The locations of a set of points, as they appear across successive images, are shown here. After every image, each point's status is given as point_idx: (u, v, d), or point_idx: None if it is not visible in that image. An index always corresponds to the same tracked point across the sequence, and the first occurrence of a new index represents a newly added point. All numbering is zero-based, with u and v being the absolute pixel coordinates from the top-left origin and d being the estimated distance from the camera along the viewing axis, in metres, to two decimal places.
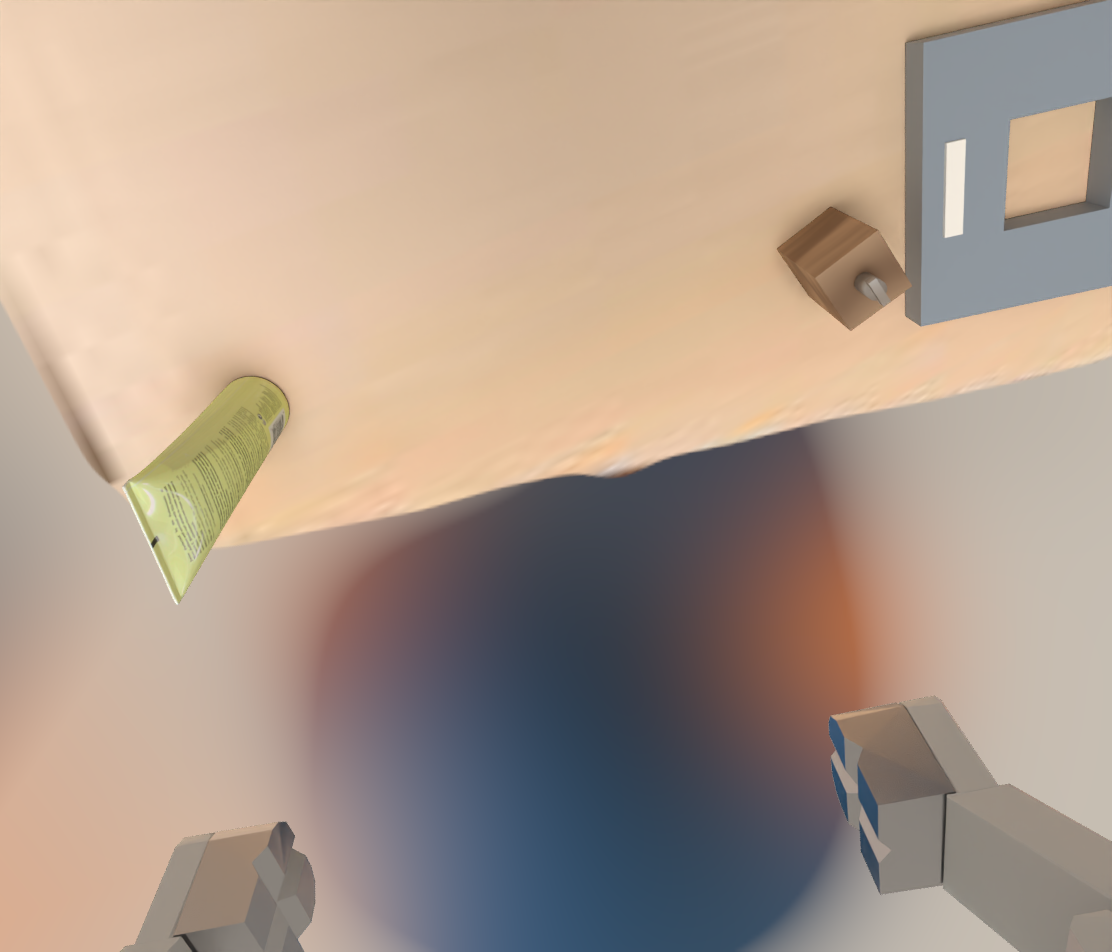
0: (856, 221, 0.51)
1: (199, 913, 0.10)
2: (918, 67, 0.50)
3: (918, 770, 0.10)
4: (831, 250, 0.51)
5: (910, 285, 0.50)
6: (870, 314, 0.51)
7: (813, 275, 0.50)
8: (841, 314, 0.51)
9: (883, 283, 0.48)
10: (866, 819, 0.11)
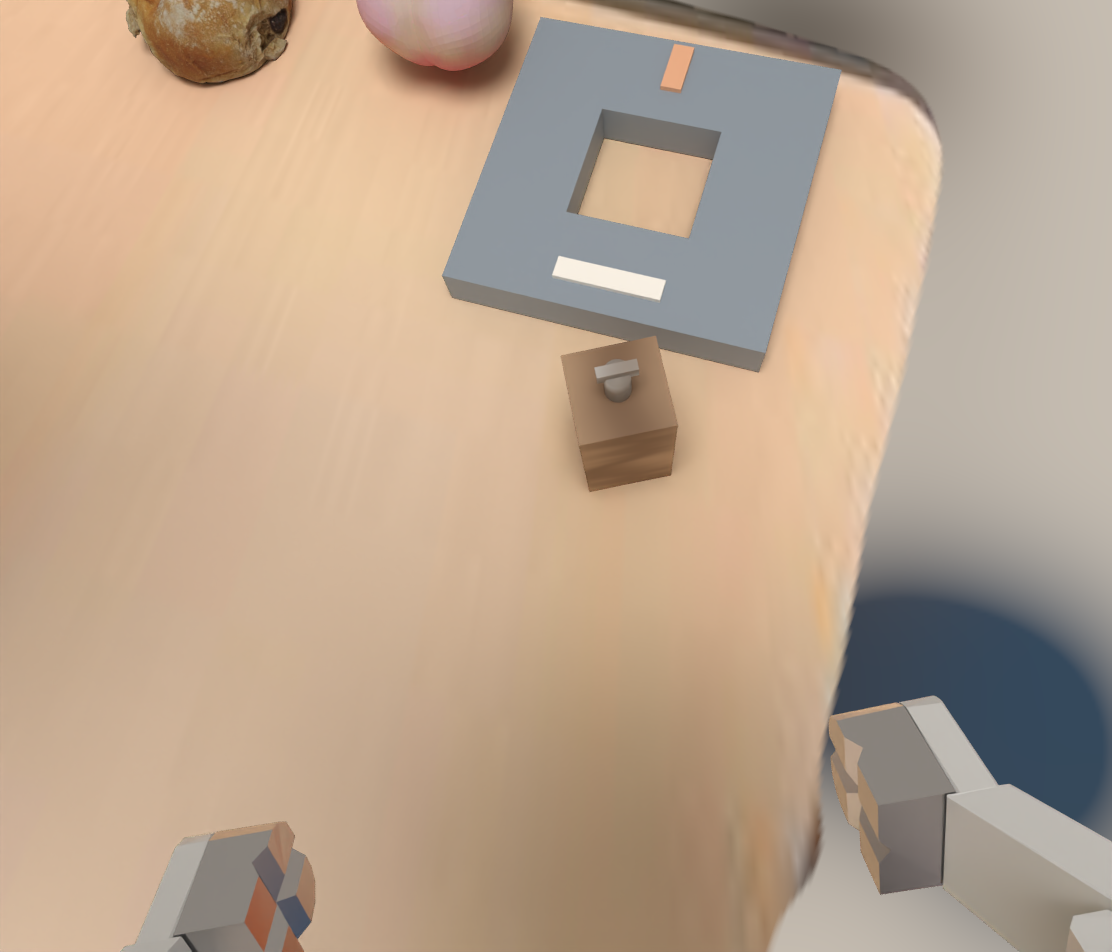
0: None
1: (199, 914, 0.10)
2: (468, 287, 0.45)
3: (918, 770, 0.10)
4: None
5: (653, 337, 0.37)
6: (667, 394, 0.36)
7: (579, 447, 0.36)
8: (647, 429, 0.35)
9: (611, 362, 0.34)
10: (866, 819, 0.11)
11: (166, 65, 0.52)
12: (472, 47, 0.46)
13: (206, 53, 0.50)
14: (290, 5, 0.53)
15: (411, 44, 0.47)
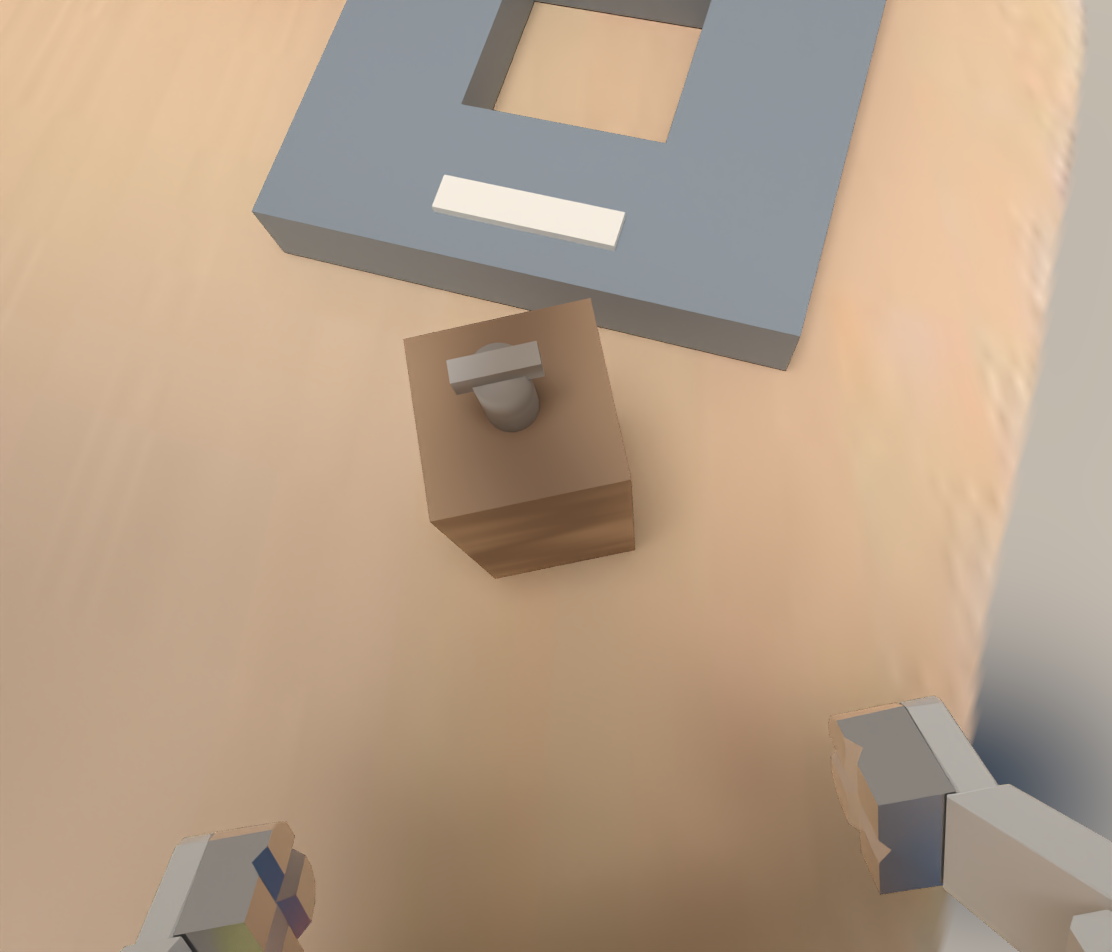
0: None
1: (199, 912, 0.10)
2: (297, 231, 0.27)
3: (918, 770, 0.10)
4: None
5: (586, 301, 0.18)
6: (611, 416, 0.18)
7: None
8: (569, 488, 0.17)
9: (486, 348, 0.16)
10: (866, 819, 0.11)
11: None
12: None
13: None
14: None
15: None
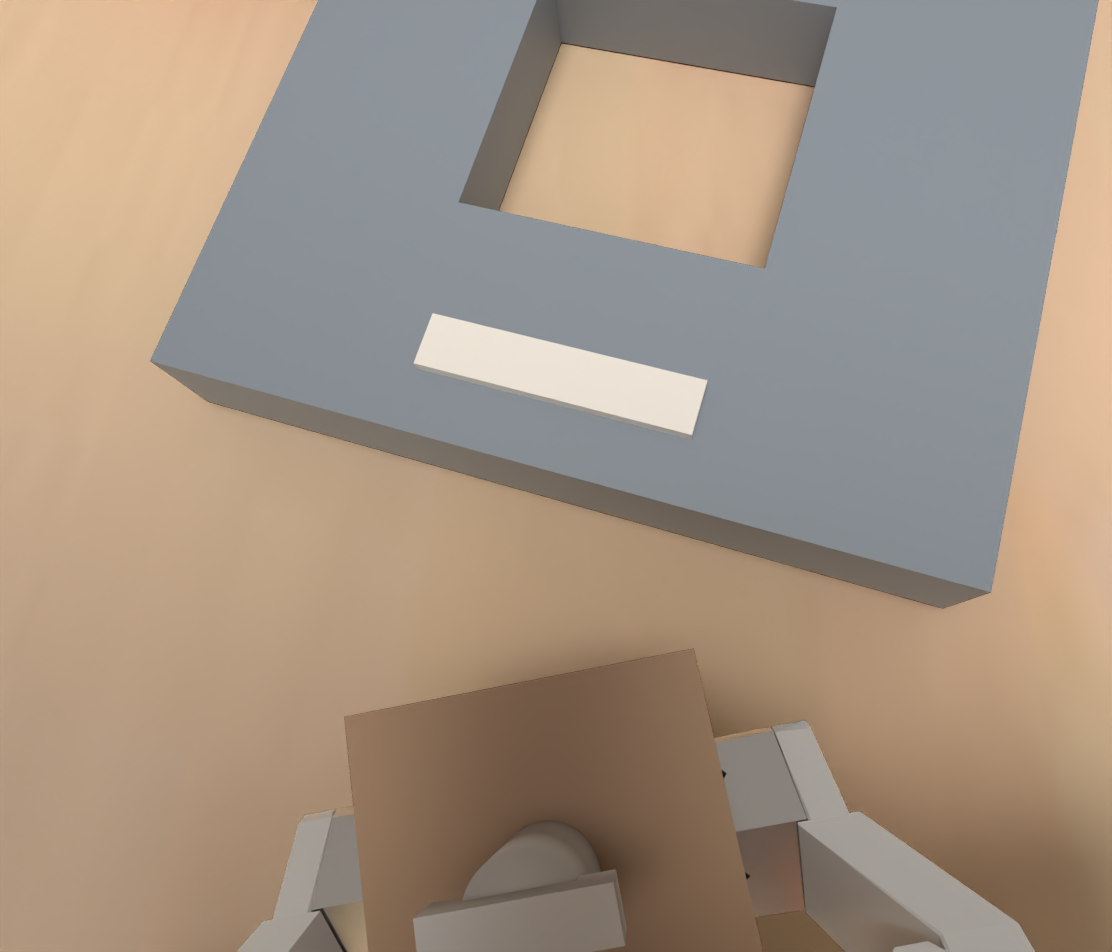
0: None
1: (335, 888, 0.10)
2: (219, 388, 0.19)
3: (775, 797, 0.10)
4: None
5: (686, 656, 0.10)
6: (743, 912, 0.09)
7: None
8: None
9: (500, 863, 0.08)
10: None
11: None
12: None
13: None
14: None
15: None
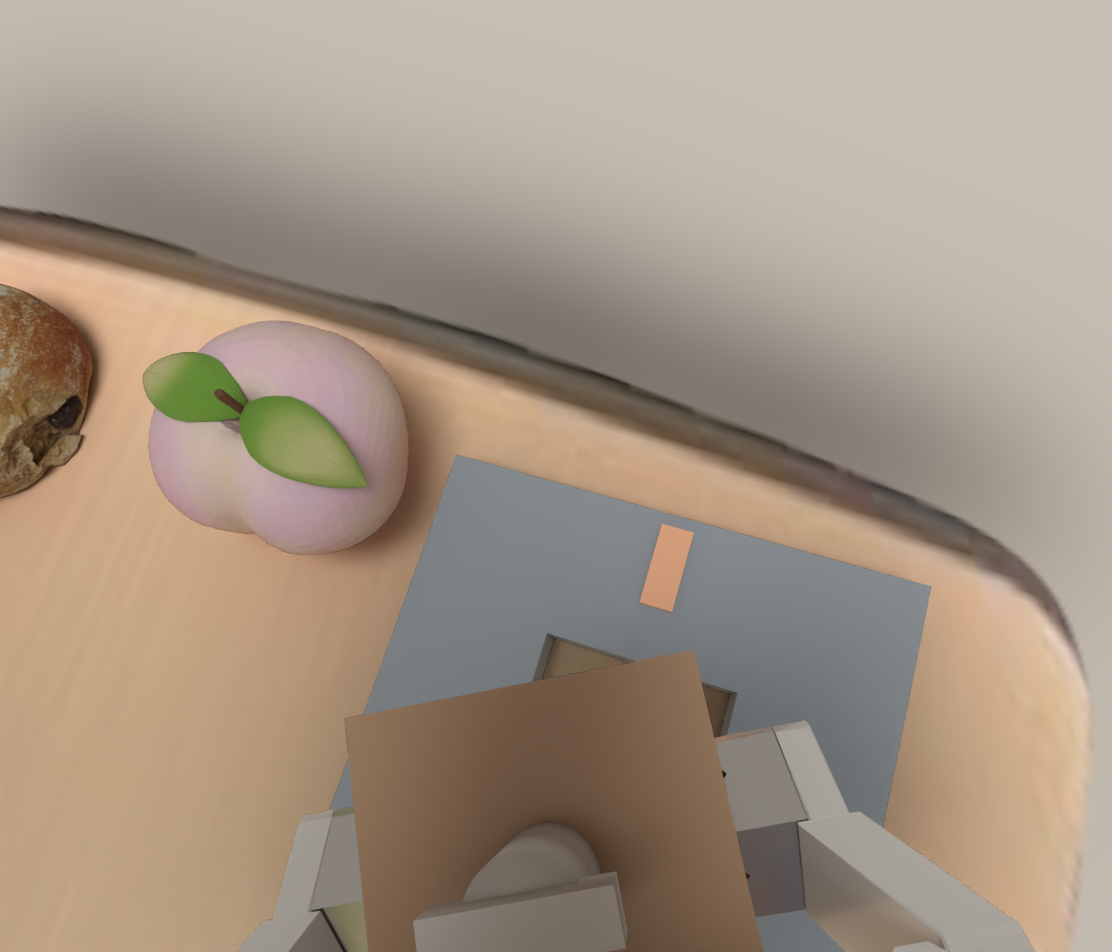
0: None
1: (336, 888, 0.10)
2: None
3: (775, 797, 0.10)
4: None
5: (686, 658, 0.10)
6: (744, 913, 0.09)
7: None
8: None
9: (500, 866, 0.08)
10: None
11: None
12: (337, 550, 0.29)
13: None
14: (86, 384, 0.36)
15: (245, 530, 0.29)
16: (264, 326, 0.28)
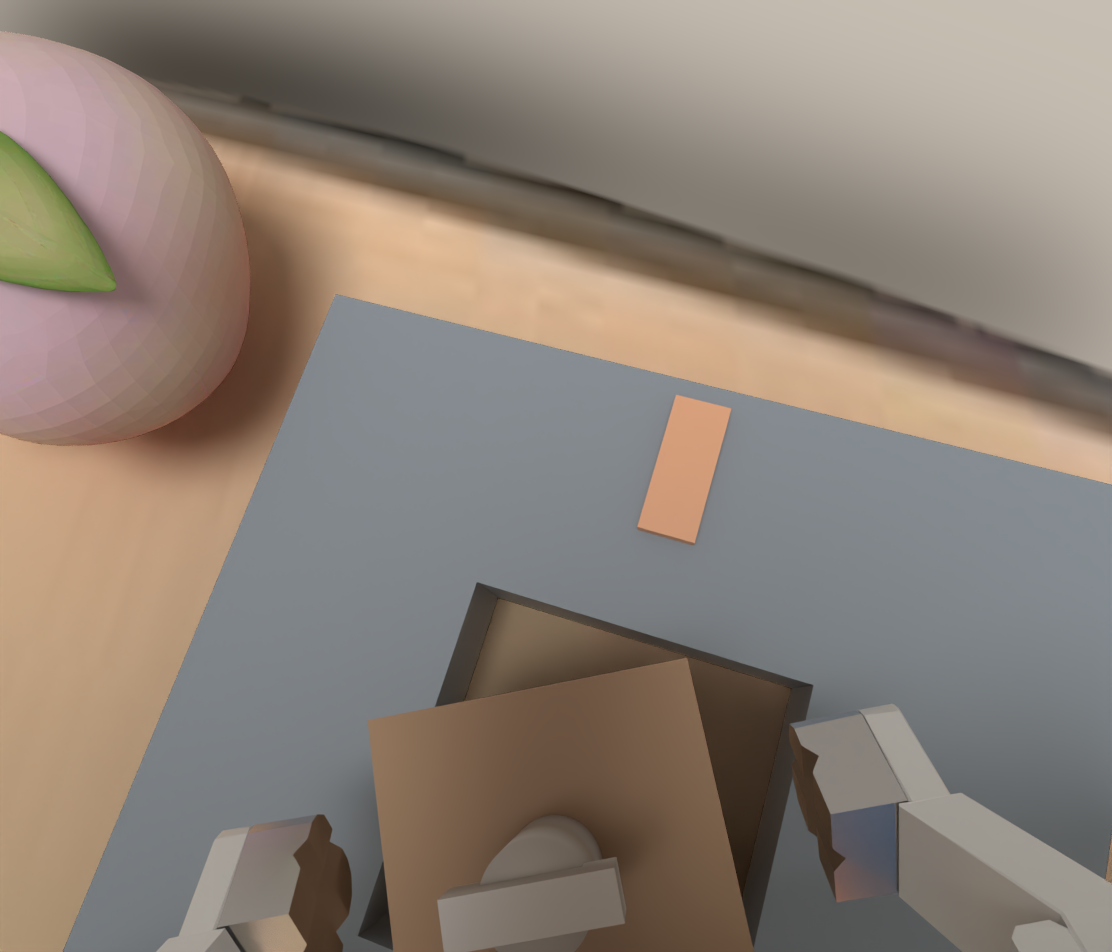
0: None
1: (242, 905, 0.10)
2: None
3: (872, 779, 0.10)
4: None
5: (680, 665, 0.11)
6: (732, 896, 0.10)
7: None
8: None
9: (513, 852, 0.08)
10: (823, 827, 0.11)
11: None
12: (102, 433, 0.16)
13: None
14: None
15: None
16: None
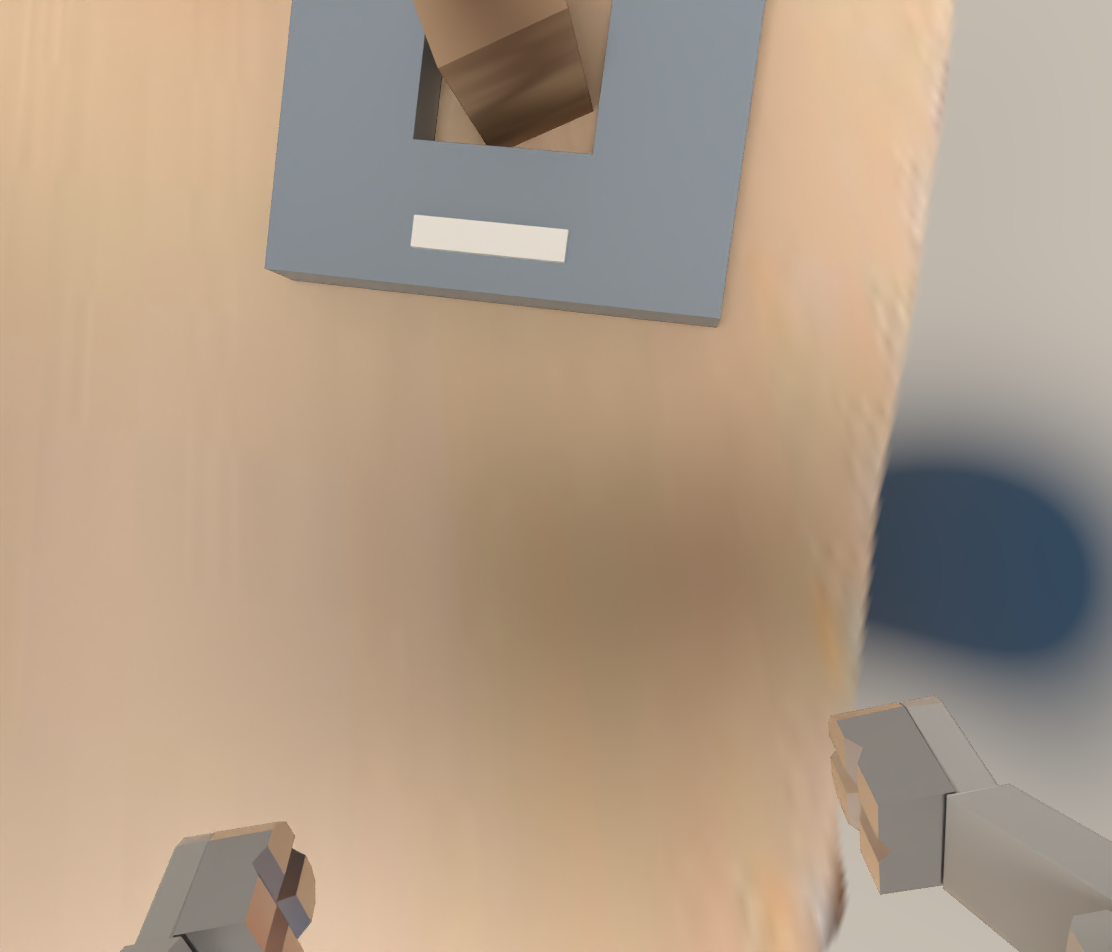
0: None
1: (198, 914, 0.10)
2: (304, 275, 0.33)
3: (918, 770, 0.10)
4: None
5: None
6: None
7: (441, 72, 0.26)
8: (527, 23, 0.25)
9: None
10: (866, 819, 0.11)
11: None
12: None
13: None
14: None
15: None
16: None
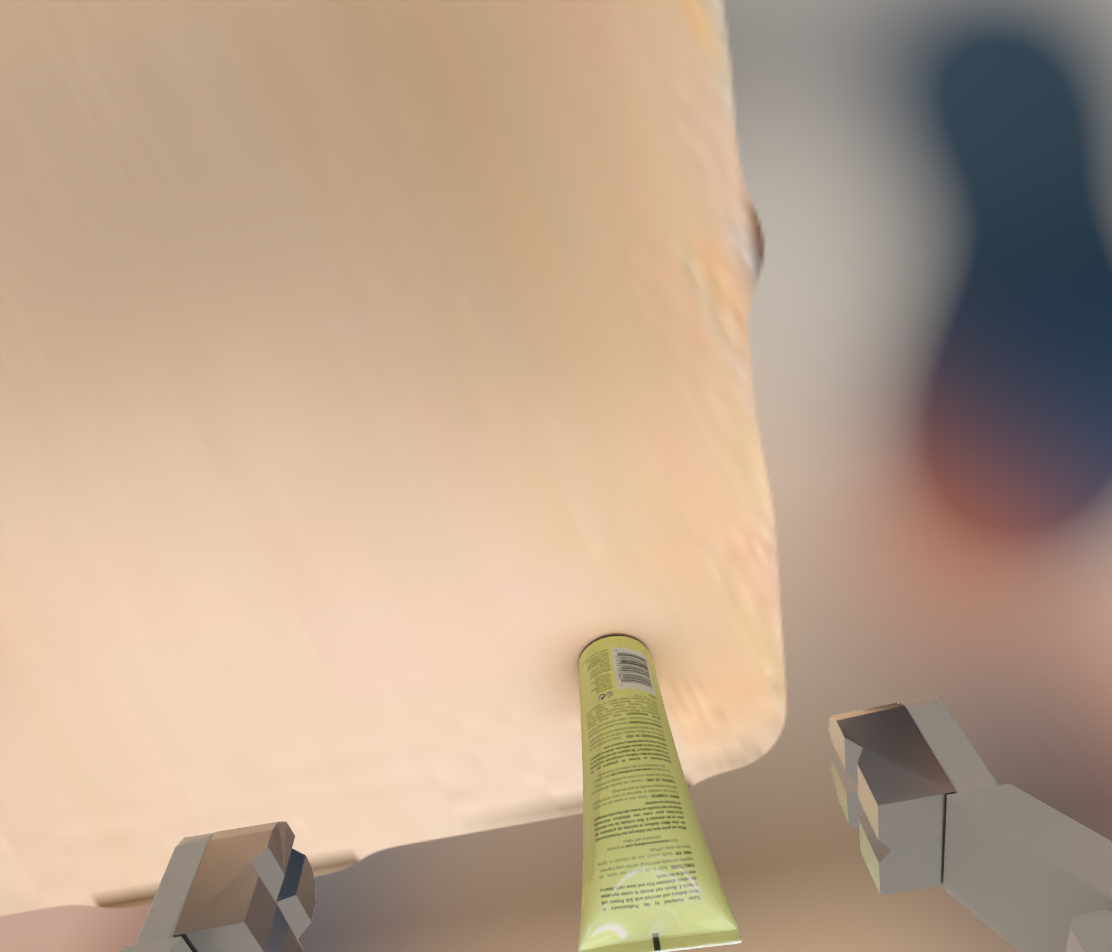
0: None
1: (199, 914, 0.10)
2: None
3: (918, 770, 0.10)
4: None
5: None
6: None
7: None
8: None
9: None
10: (866, 819, 0.11)
11: None
12: None
13: None
14: None
15: None
16: None
